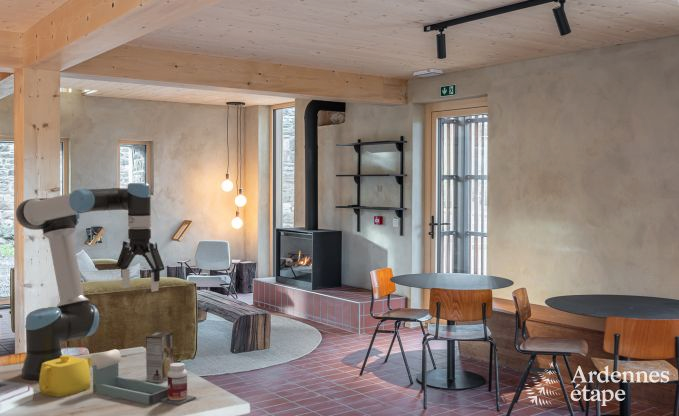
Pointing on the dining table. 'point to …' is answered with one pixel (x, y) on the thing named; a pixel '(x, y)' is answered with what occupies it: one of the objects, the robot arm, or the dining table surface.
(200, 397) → the dining table surface
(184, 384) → the pill bottle
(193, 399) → the coaster
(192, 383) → the dining table surface
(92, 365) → the teal rectangular frame
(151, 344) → the coffee box
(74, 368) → the teapot
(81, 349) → the dining table surface
